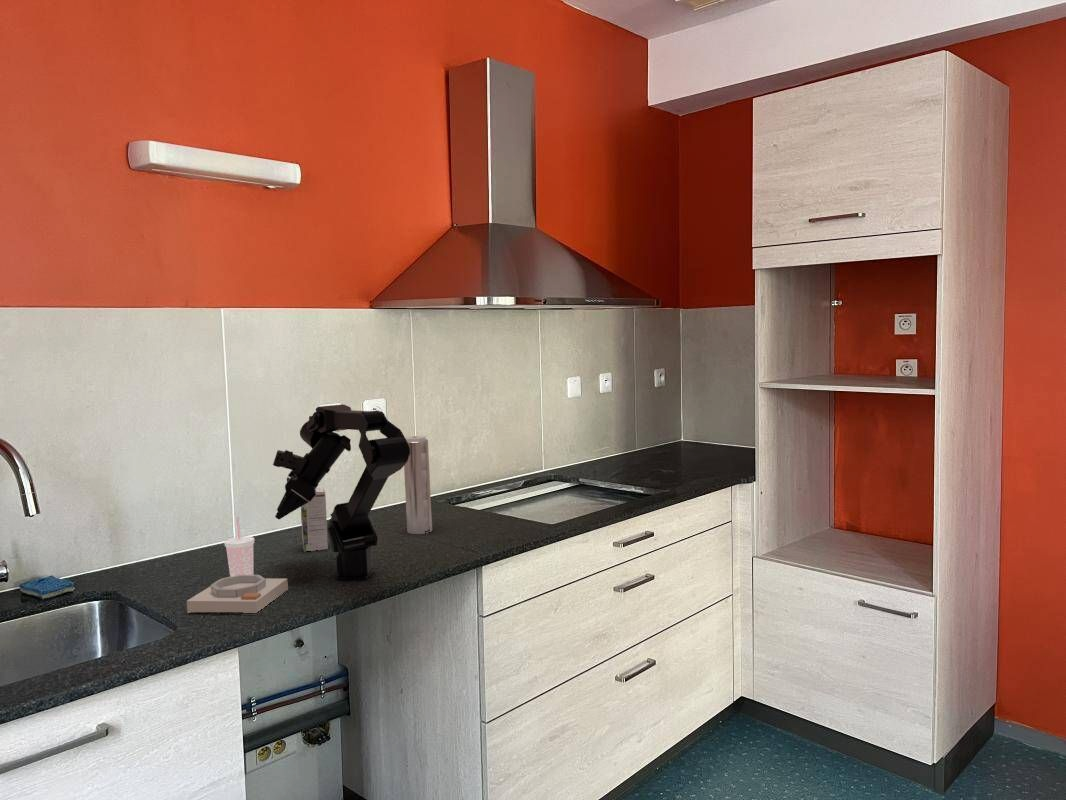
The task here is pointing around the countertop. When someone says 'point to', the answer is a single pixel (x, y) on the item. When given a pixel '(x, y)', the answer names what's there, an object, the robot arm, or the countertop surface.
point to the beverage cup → (240, 554)
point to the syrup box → (315, 523)
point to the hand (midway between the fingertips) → (277, 514)
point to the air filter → (418, 486)
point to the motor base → (236, 602)
